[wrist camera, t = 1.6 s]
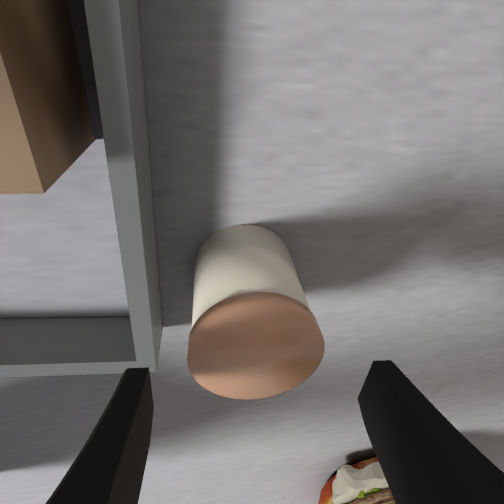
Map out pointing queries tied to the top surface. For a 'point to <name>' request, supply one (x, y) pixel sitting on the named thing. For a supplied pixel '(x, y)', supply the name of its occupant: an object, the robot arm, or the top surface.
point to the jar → (250, 317)
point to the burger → (358, 485)
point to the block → (39, 96)
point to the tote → (127, 220)
